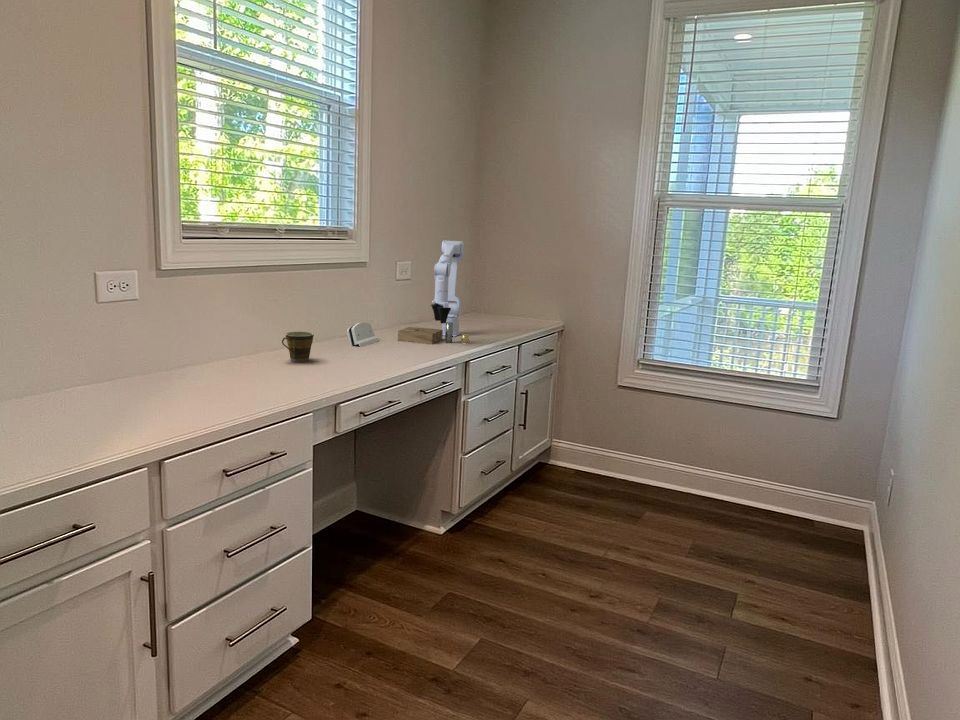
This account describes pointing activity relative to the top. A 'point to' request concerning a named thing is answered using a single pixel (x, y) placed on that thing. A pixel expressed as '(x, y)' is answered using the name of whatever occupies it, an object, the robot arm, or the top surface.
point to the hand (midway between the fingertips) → (440, 321)
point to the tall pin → (449, 332)
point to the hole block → (420, 335)
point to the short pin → (465, 338)
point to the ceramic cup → (299, 345)
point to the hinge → (361, 334)
